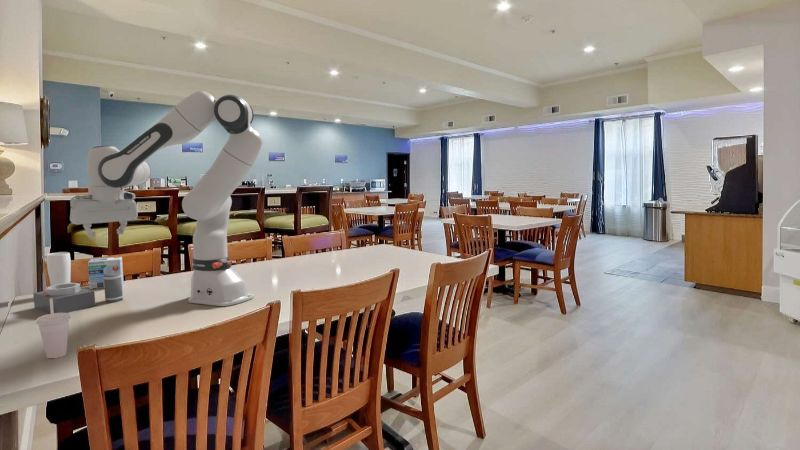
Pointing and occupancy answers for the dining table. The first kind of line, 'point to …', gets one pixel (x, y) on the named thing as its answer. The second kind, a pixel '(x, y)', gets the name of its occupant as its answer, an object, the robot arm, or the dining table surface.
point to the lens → (113, 288)
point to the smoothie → (54, 332)
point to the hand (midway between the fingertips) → (106, 235)
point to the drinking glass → (59, 267)
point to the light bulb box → (103, 270)
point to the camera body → (64, 298)
